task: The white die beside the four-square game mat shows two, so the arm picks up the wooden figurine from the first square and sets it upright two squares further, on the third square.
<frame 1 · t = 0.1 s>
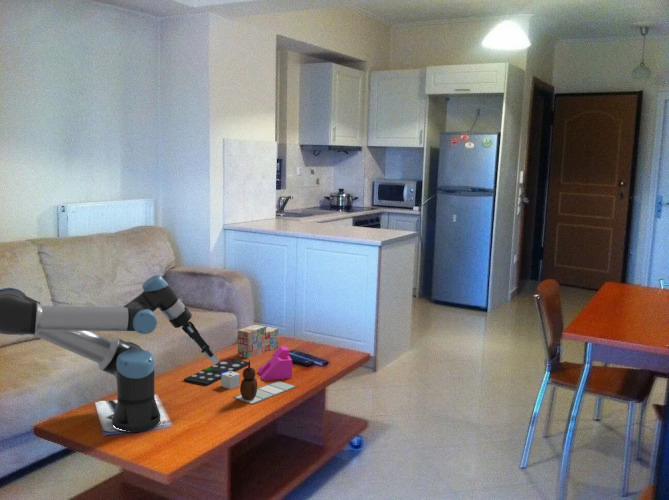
hand: (211, 356, 228), 15 cm above the table, tool tilted 35°, fingers open, 13 cm apart
remote control: (218, 374, 257), on the table
game mat: (265, 392, 237), on the table
wooden figurine: (248, 398, 230), resting on game mat
bracket: (274, 375, 256), on the table
die: (230, 386, 242), on the table
stack of blocks: (258, 352, 286), on the table
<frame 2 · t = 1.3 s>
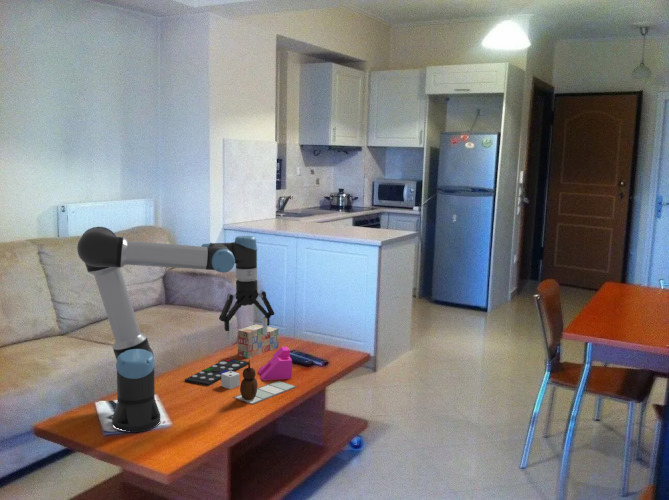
hand: (247, 337, 227), 23 cm above the table, tool pointing down, fingers open, 13 cm apart
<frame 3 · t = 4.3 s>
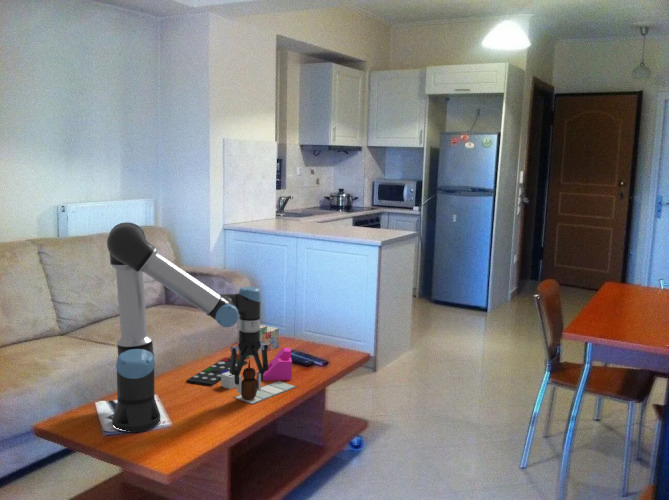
hand: (248, 390, 229), 3 cm above the table, tool pointing down, fingers closed on wooden figurine, 7 cm apart
wooden figurine: (248, 398, 230), resting on game mat, touching gripper
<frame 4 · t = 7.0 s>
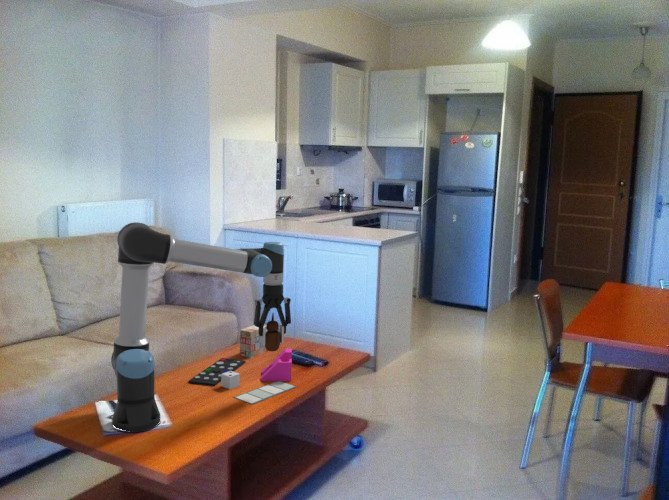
hand: (272, 343, 236), 19 cm above the table, tool pointing down, fingers closed on wooden figurine, 7 cm apart
wooden figurine: (272, 350, 237), point 16 cm above the table, touching gripper
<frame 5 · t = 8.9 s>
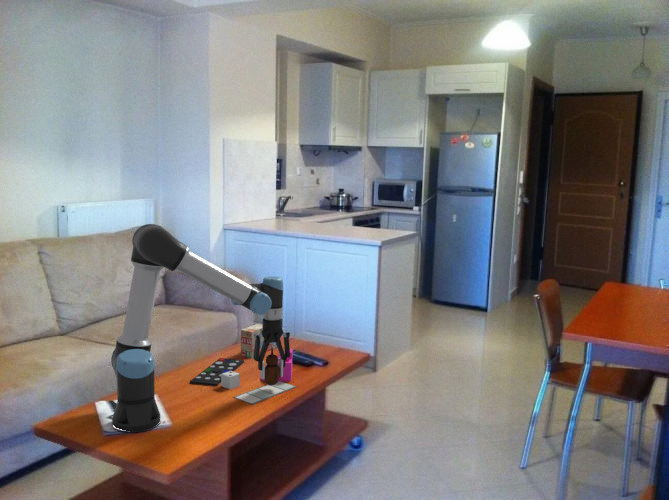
hand: (271, 376, 238), 5 cm above the table, tool pointing down, fingers closed on wooden figurine, 7 cm apart
wooden figurine: (271, 384, 239), point 2 cm above the table, touching gripper
when the fingers open (5 cm above the table, at t = 9.7 s): wooden figurine drops 2 cm, resting on game mat.
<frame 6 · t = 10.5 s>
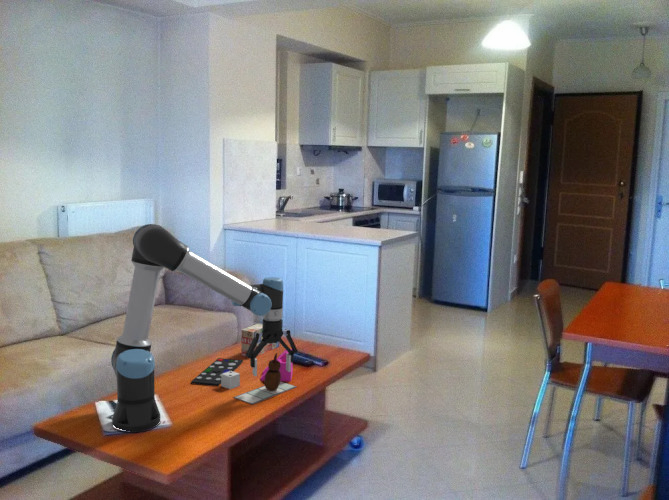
hand: (271, 373, 238), 7 cm above the table, tool pointing down, fingers open, 13 cm apart
wooden figurine: (271, 389, 239), resting on game mat
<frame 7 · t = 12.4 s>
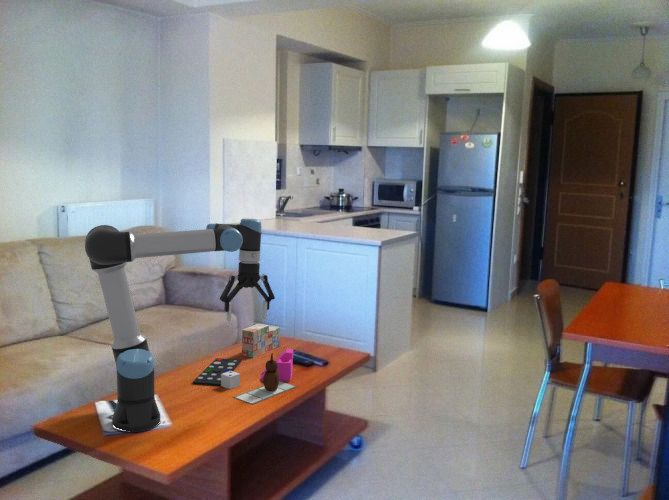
hand: (246, 319, 228), 29 cm above the table, tool pointing down, fingers open, 13 cm apart
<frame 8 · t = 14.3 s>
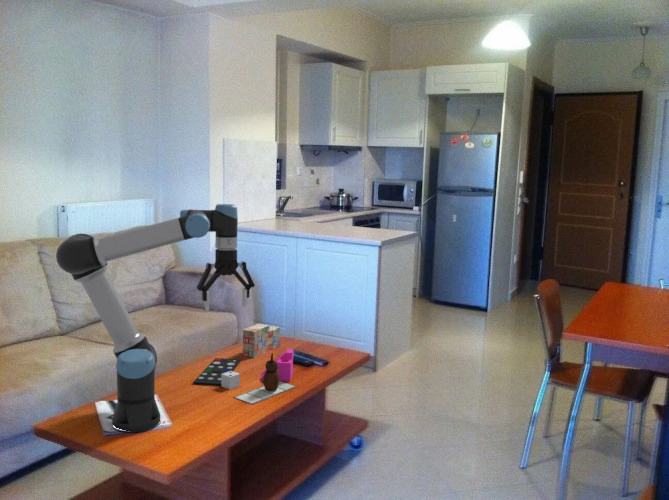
hand: (226, 308, 221), 35 cm above the table, tool pointing down, fingers open, 13 cm apart
at the end: wooden figurine 0.0 cm from the target spot on the game mat, point 0.0 cm above the game mat's base; wooden figurine tilted 0°; the gripper is holding nothing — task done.
